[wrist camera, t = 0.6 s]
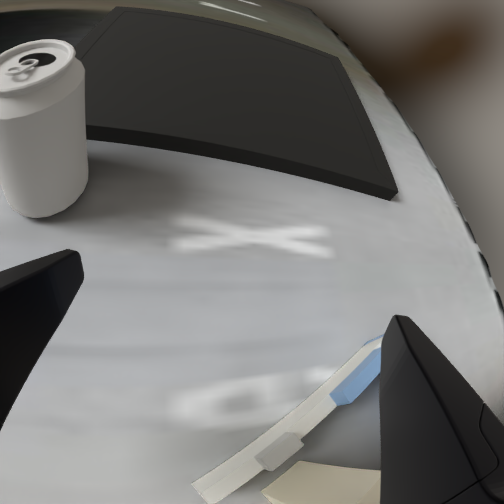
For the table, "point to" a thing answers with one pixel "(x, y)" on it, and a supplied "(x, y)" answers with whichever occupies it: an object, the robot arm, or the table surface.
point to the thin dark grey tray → (228, 98)
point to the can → (42, 127)
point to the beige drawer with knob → (324, 485)
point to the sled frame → (293, 426)
